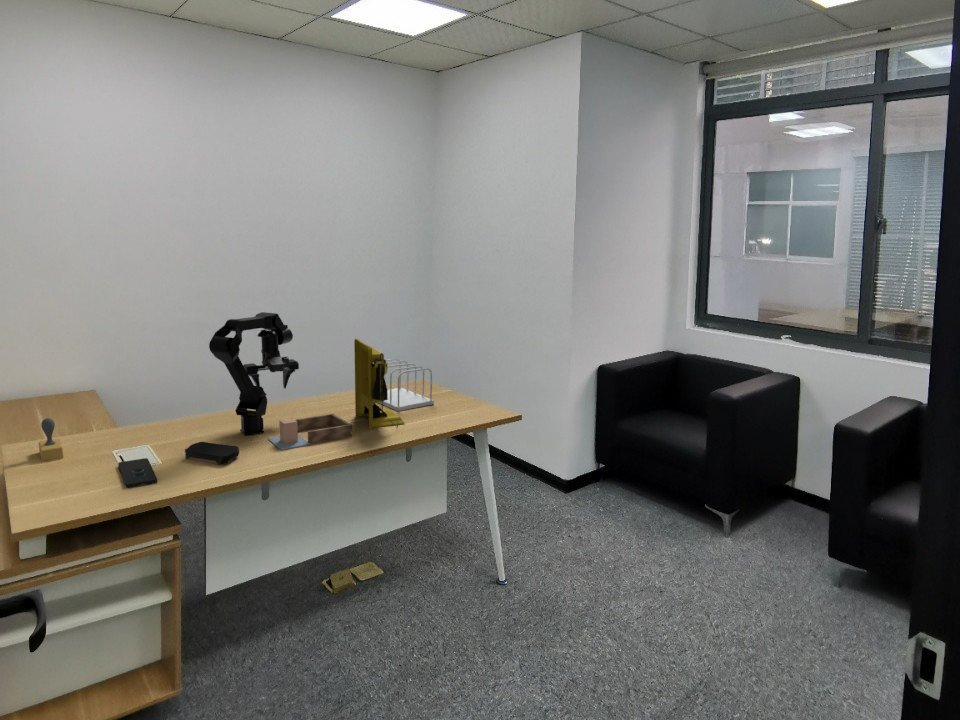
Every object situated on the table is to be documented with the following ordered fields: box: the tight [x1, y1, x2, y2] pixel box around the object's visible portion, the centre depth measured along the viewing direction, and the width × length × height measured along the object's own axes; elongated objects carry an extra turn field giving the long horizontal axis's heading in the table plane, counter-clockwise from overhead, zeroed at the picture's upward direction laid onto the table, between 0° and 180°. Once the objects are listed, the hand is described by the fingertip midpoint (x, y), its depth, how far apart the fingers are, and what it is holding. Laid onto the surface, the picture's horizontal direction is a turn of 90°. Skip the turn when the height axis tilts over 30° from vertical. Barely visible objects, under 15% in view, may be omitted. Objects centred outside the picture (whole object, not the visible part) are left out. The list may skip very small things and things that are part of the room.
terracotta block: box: [278, 418, 299, 444], centre depth 230 cm, size 4×4×7 cm
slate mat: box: [267, 434, 312, 451], centre depth 231 cm, size 10×13×1 cm
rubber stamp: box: [38, 417, 64, 462], centre depth 213 cm, size 10×6×12 cm, turn 35°
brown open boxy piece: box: [294, 413, 353, 444], centre depth 240 cm, size 16×16×4 cm
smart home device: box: [118, 457, 158, 489], centre depth 200 cm, size 8×2×20 cm
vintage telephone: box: [353, 338, 405, 430], centre depth 253 cm, size 31×14×30 cm, turn 25°
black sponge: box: [184, 441, 240, 466], centre depth 214 cm, size 16×8×4 cm, turn 72°
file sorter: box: [379, 358, 435, 412], centre depth 283 cm, size 25×17×16 cm
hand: (272, 390), depth 250 cm, fingers open, 9 cm apart
